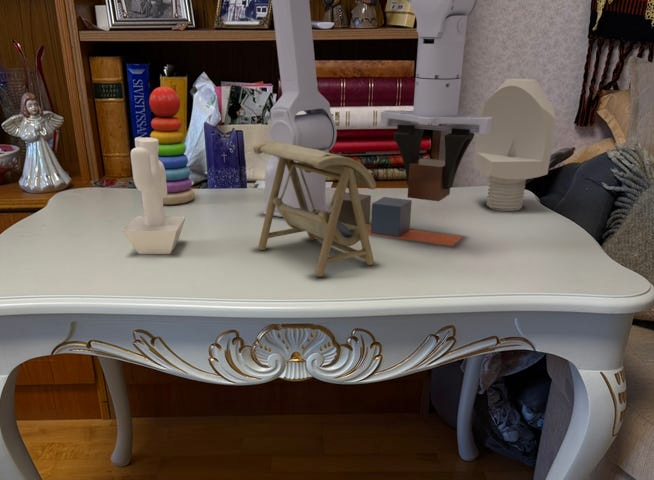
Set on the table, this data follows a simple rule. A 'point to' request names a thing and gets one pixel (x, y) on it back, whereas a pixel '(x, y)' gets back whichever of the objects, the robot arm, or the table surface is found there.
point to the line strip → (426, 237)
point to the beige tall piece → (515, 141)
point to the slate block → (391, 216)
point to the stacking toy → (171, 145)
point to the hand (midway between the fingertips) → (429, 185)
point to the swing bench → (302, 218)
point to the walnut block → (427, 180)
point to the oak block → (348, 213)
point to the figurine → (151, 202)
